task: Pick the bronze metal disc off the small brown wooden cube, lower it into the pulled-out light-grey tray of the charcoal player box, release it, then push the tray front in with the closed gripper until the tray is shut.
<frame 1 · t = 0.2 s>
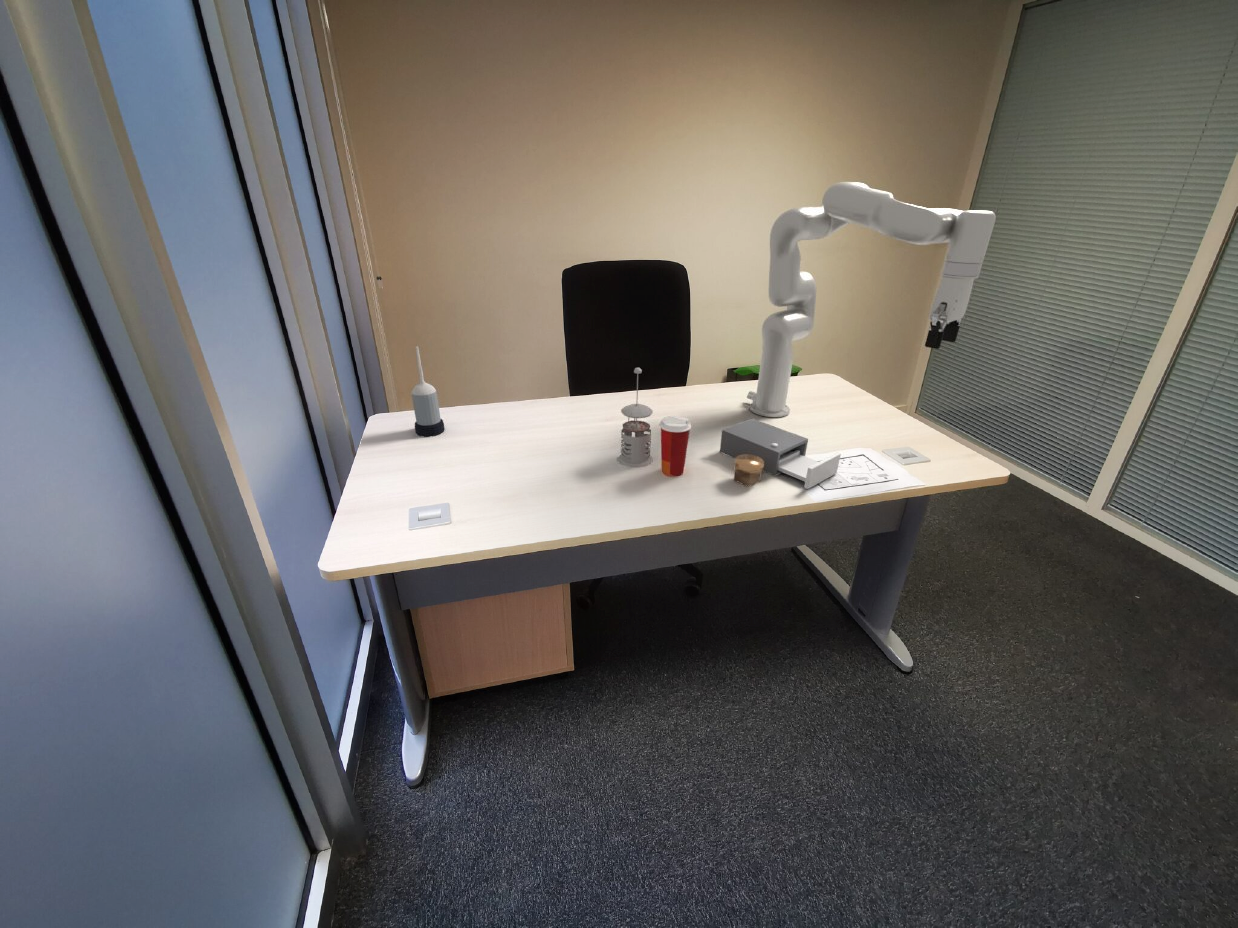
hand: (940, 344, 131), 31 cm above the table, fingers open, 9 cm apart
brown wooden cube: (746, 480, 133), on the table
grey bottle with nozzle: (430, 431, 158), on the table
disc: (748, 468, 132), point 3 cm above the table, touching brown wooden cube
player: (761, 456, 145), on the table
paper cup: (672, 472, 137), on the table
tray: (792, 458, 138), point 3 cm above the table, slide at 8.0 cm
french press: (634, 458, 144), on the table
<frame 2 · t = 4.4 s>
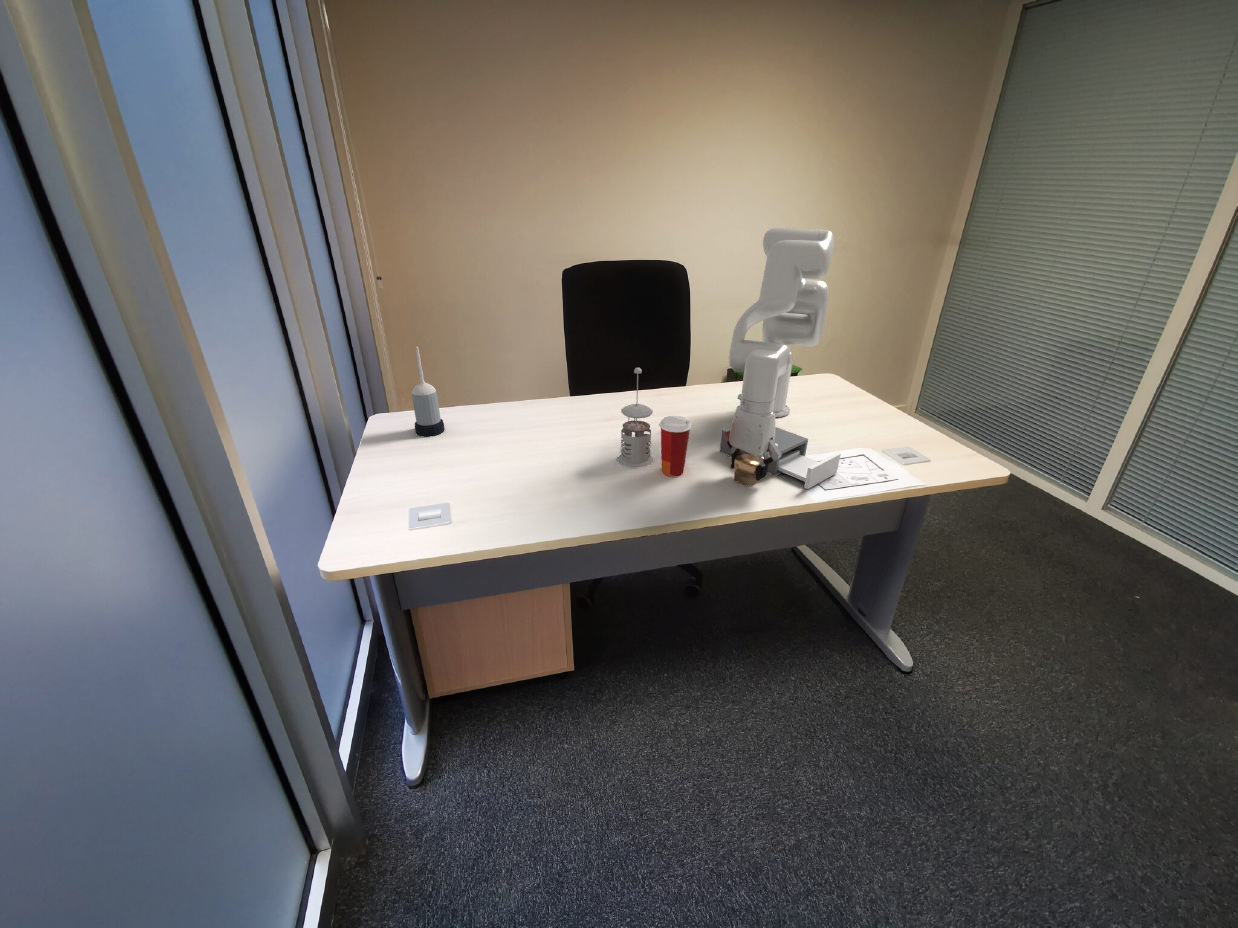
hand: (747, 472, 132), 2 cm above the table, fingers closed on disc, 7 cm apart
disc: (748, 468, 132), point 4 cm above the table, touching gripper, brown wooden cube
everything else where it was.
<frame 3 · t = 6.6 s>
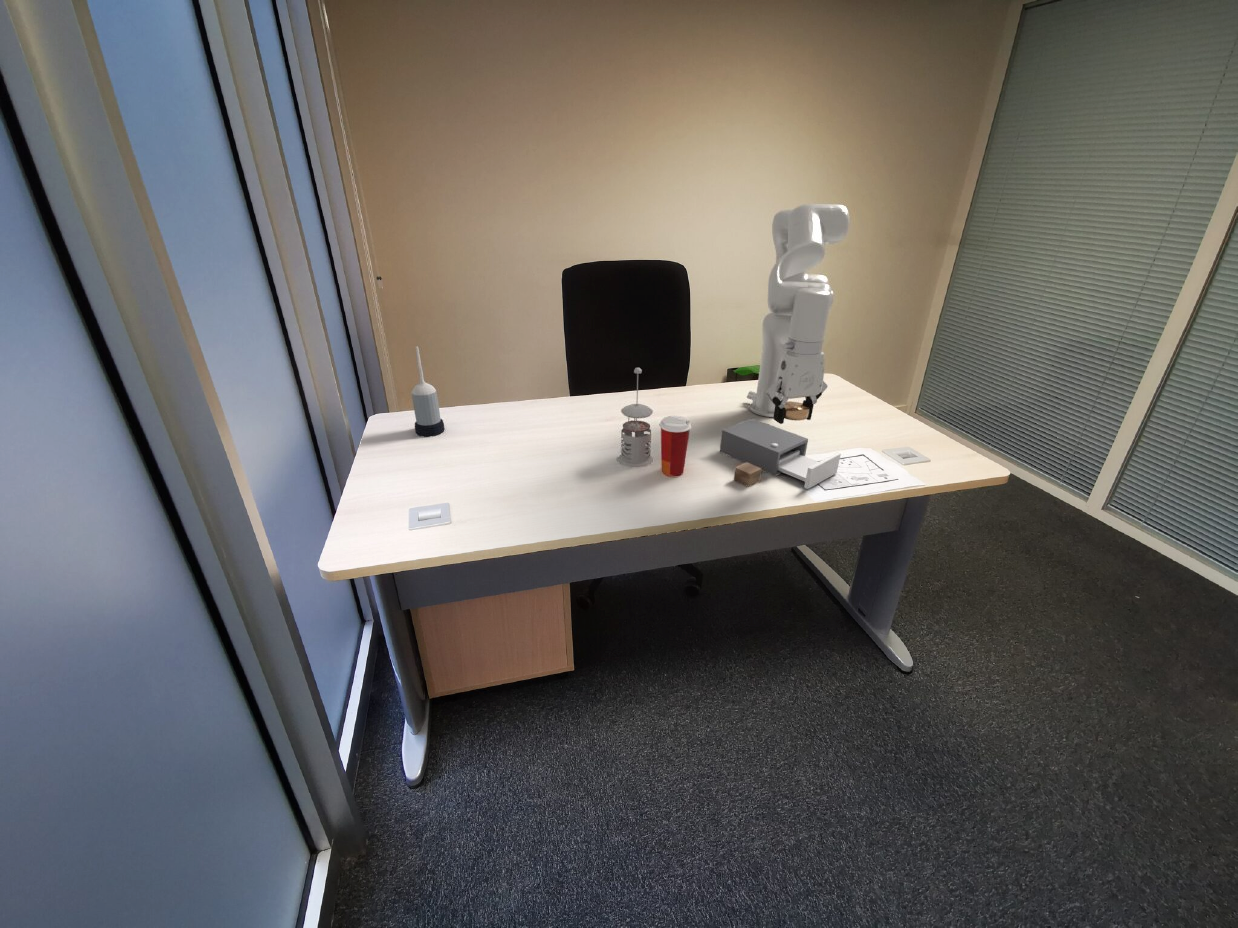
hand: (792, 419, 129), 15 cm above the table, fingers closed on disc, 7 cm apart
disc: (792, 414, 128), point 16 cm above the table, touching gripper
everything else where it was.
when the fingers open (3 cm above the table, at t = 8.9 s): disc drops 2 cm, resting on tray.
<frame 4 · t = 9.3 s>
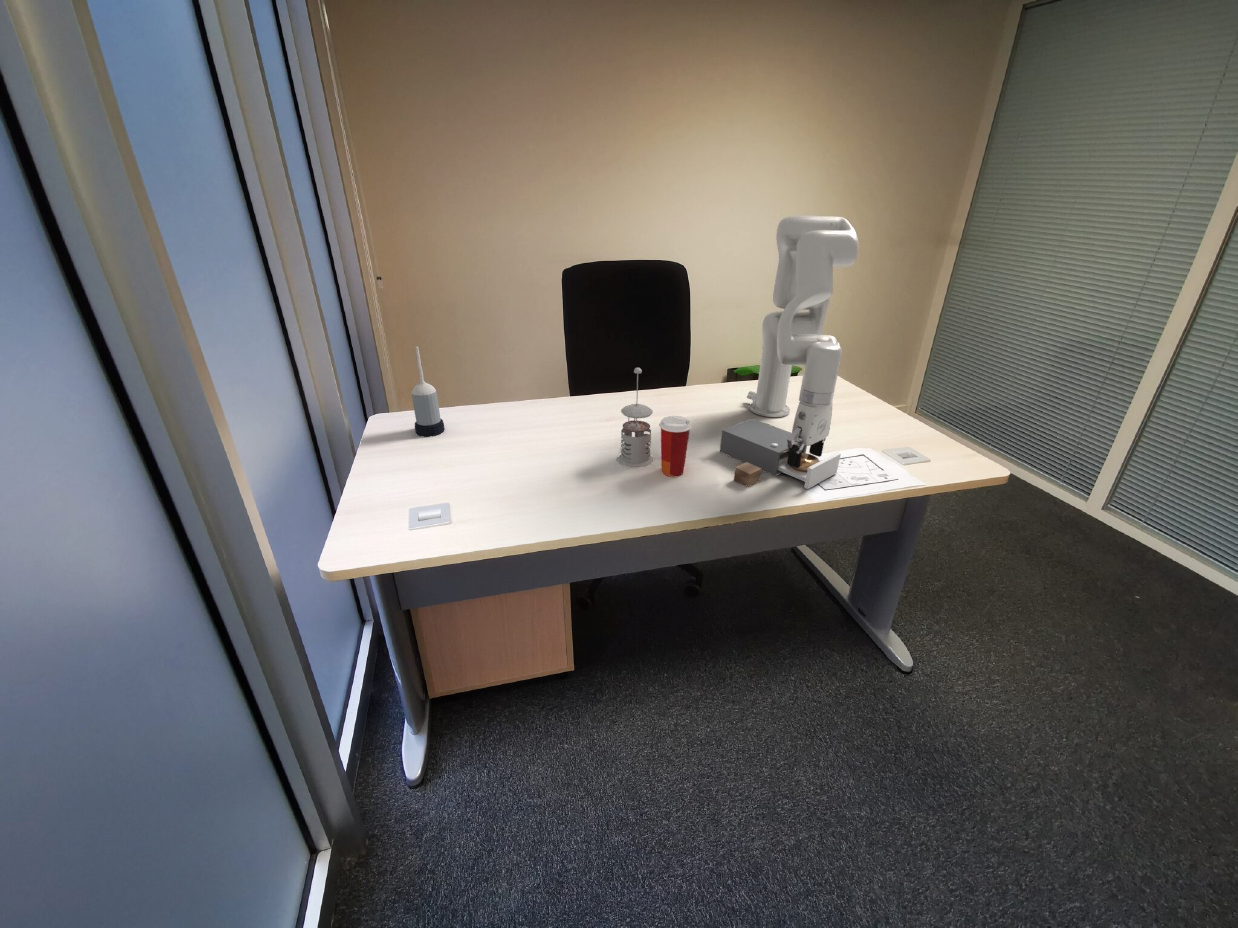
hand: (804, 460, 135), 4 cm above the table, fingers open, 9 cm apart
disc: (803, 465, 136), point 2 cm above the table, touching tray
tray: (792, 458, 138), point 3 cm above the table, slide at 8.0 cm, touching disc
everything else where it was.
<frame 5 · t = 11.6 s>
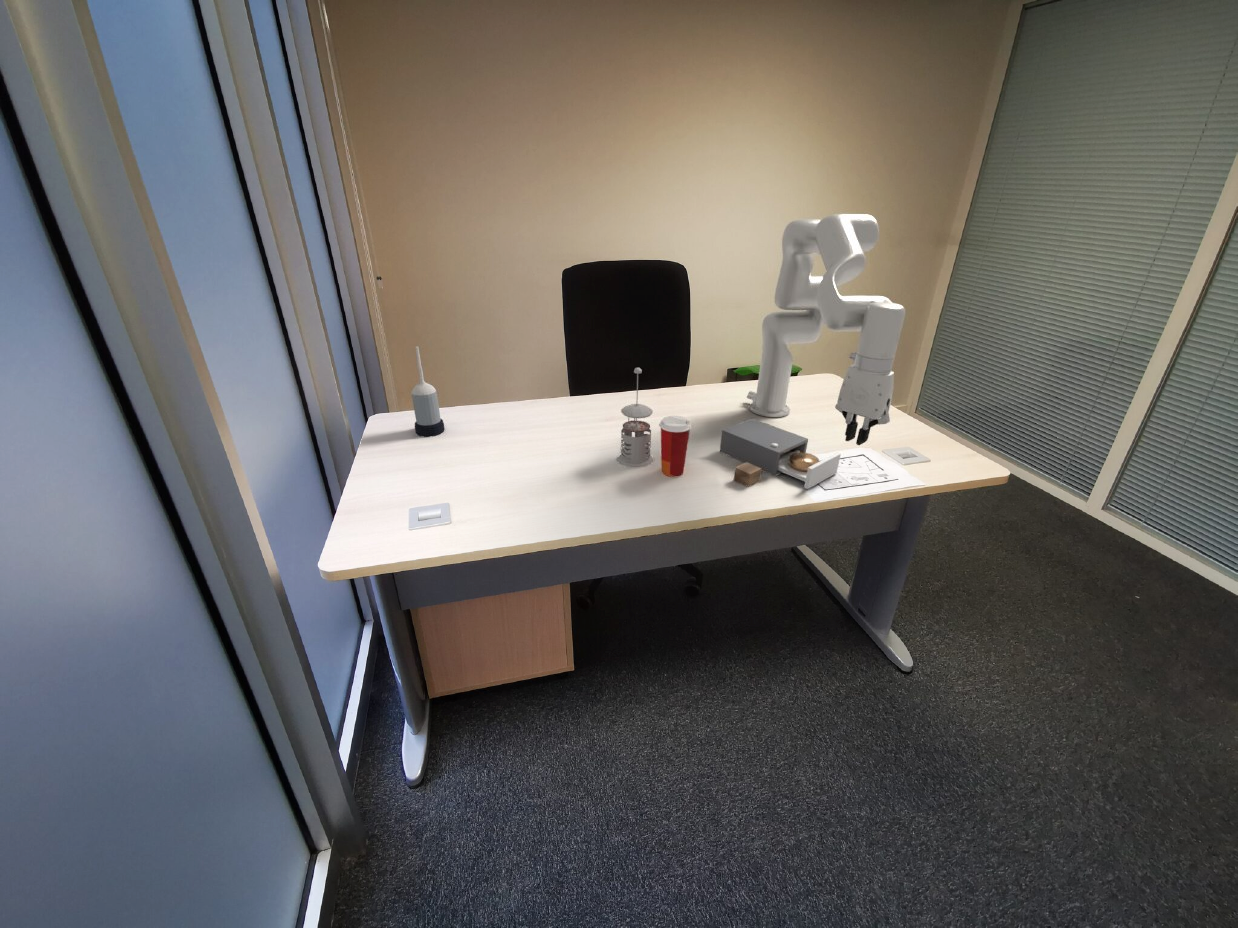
hand: (855, 440, 123), 13 cm above the table, fingers closed
nothing on the table moved.
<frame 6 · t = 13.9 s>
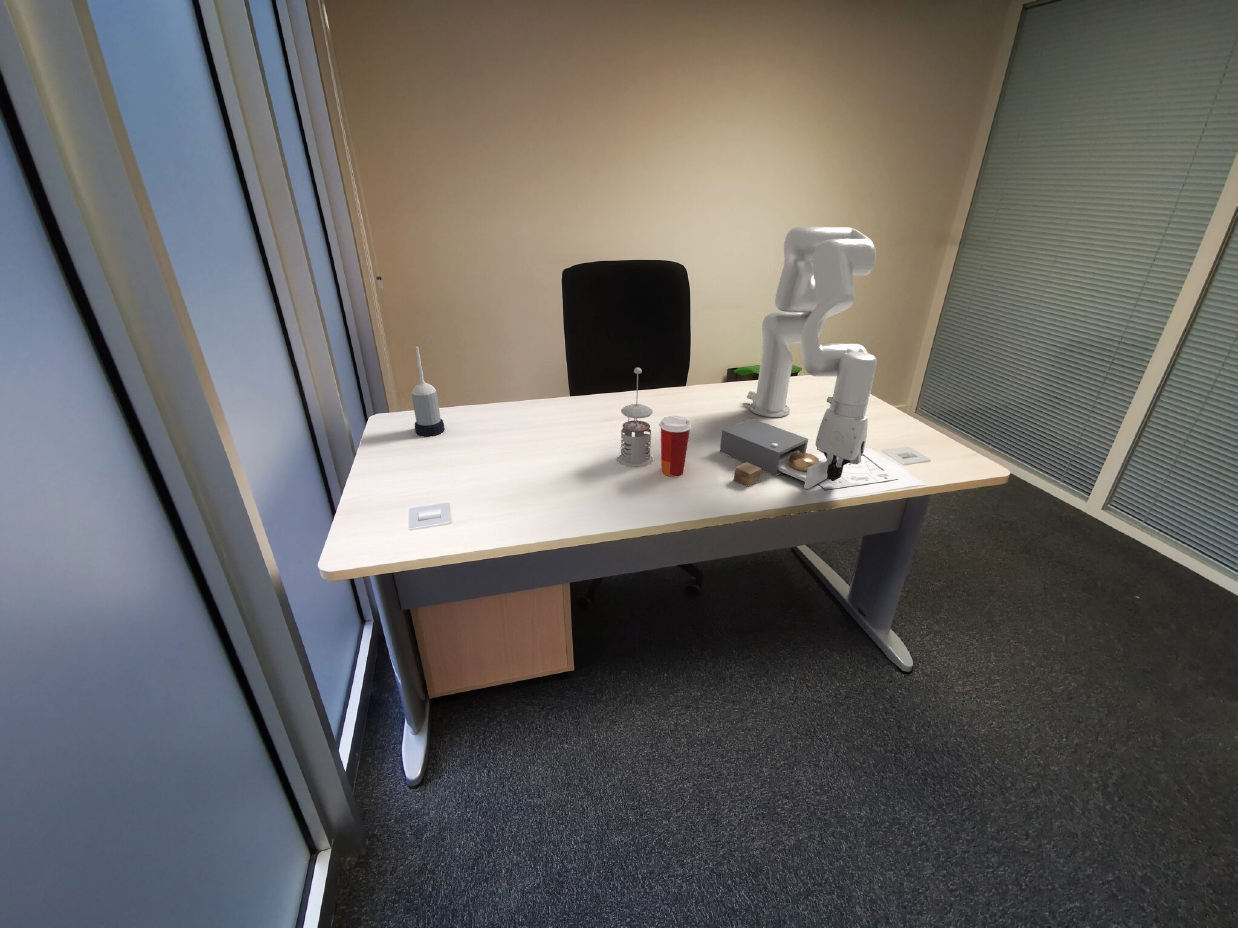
hand: (833, 478, 131), 2 cm above the table, fingers closed
tray: (792, 458, 138), point 3 cm above the table, slide at 8.0 cm, touching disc, gripper
everything else where it was.
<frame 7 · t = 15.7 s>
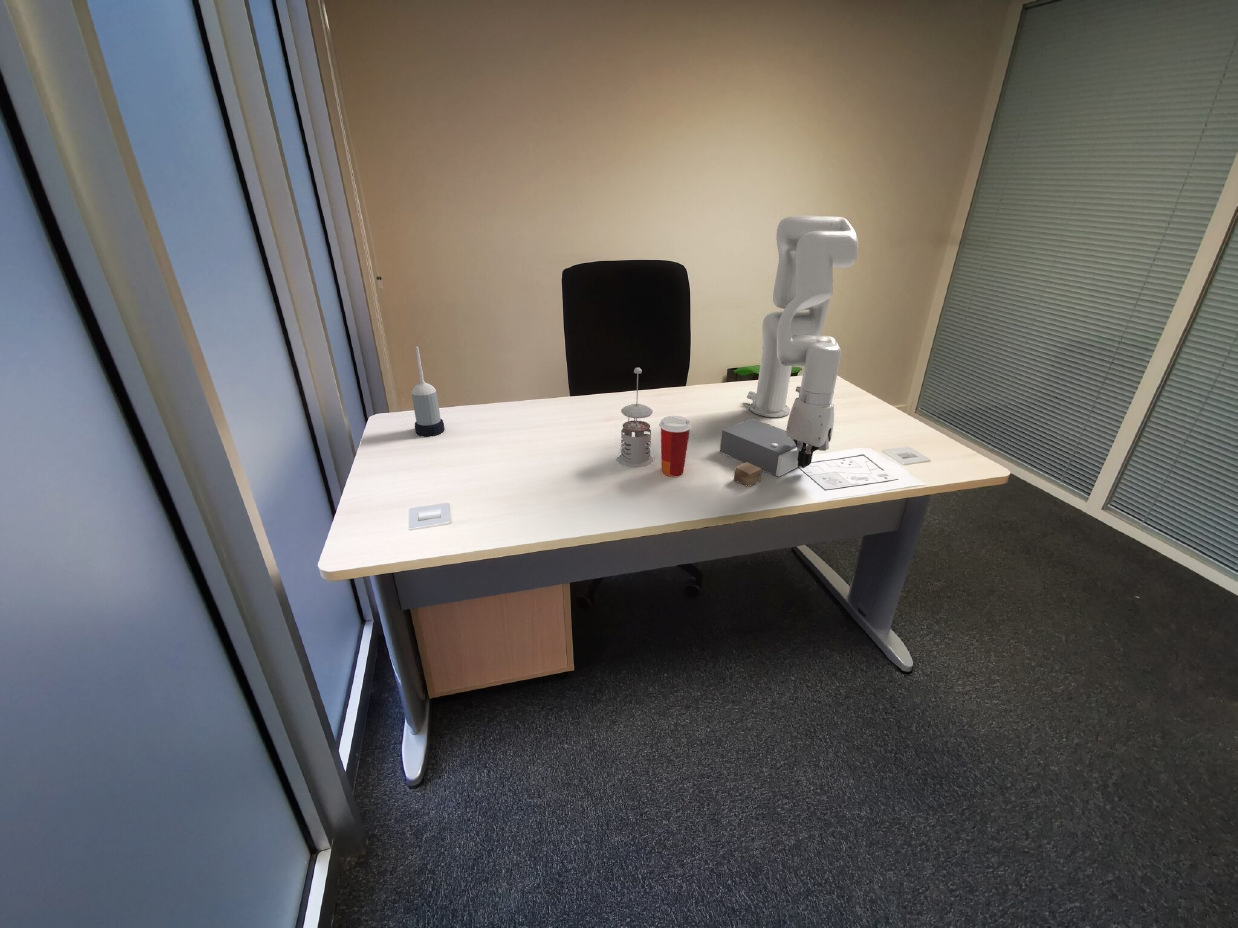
hand: (803, 465, 136), 2 cm above the table, fingers closed
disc: (775, 454, 142), point 2 cm above the table, touching tray
tray: (766, 447, 143), point 3 cm above the table, slide at -0.2 cm, touching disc, gripper
everything else where it was.
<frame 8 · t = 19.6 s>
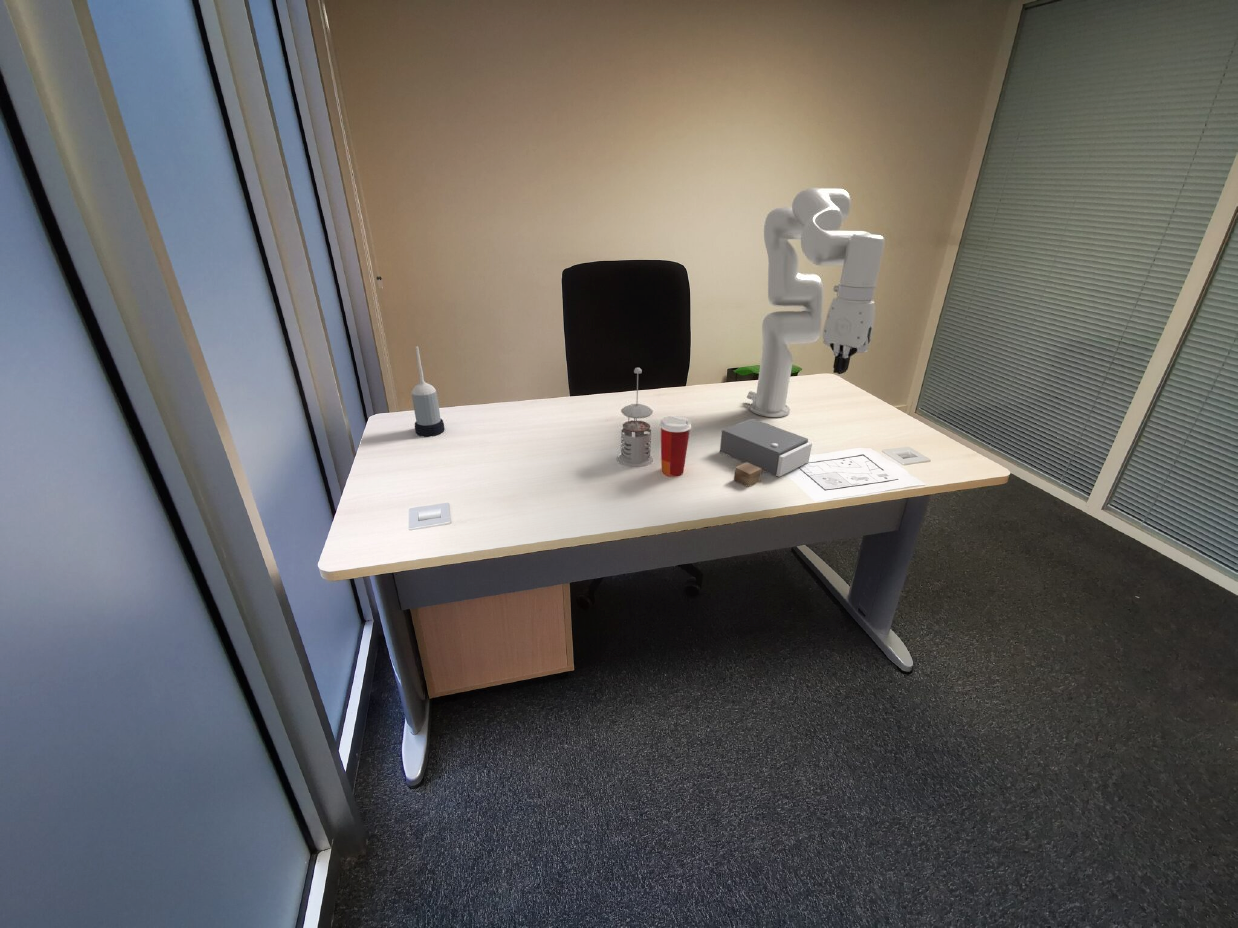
hand: (839, 372, 130), 25 cm above the table, fingers closed
tray: (766, 447, 143), point 3 cm above the table, slide at 0.0 cm, touching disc
everything else where it was.
at the end: tray slide at 0.0 cm; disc inside the target area on the player (4.2 cm from its centre), point 2.2 cm above the player's base; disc tilted 2° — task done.
